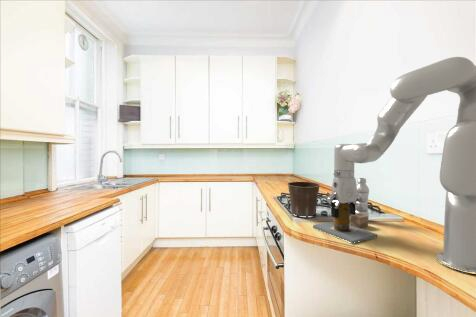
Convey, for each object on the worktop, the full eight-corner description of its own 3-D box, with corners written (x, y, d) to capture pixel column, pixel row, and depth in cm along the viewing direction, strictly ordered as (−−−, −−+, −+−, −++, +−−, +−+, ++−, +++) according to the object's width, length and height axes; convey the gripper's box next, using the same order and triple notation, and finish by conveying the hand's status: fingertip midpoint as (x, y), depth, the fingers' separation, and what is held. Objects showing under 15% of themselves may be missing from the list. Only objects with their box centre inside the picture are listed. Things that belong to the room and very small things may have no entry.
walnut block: (367, 227, 109) (368, 216, 108) (359, 229, 106) (360, 217, 106) (357, 224, 113) (357, 213, 113) (350, 225, 111) (350, 214, 110)
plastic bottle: (353, 221, 116) (353, 179, 115) (353, 217, 122) (354, 177, 121) (368, 223, 113) (369, 179, 112) (368, 219, 119) (369, 178, 118)
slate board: (377, 237, 97) (377, 234, 97) (352, 244, 91) (352, 241, 90) (336, 222, 115) (336, 220, 115) (313, 227, 108) (313, 225, 108)
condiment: (338, 225, 108) (338, 197, 107) (357, 230, 101) (358, 201, 101) (329, 229, 103) (329, 200, 103) (349, 234, 97) (349, 204, 96)
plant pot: (326, 218, 122) (326, 185, 121) (296, 221, 118) (296, 187, 117) (309, 209, 138) (309, 180, 137) (282, 212, 134) (282, 182, 133)
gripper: (336, 176, 94) (335, 221, 95) (366, 173, 102) (365, 215, 103) (321, 174, 101) (320, 216, 102) (351, 172, 108) (350, 210, 109)
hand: (343, 215), depth 102 cm, fingers open, 9 cm apart
